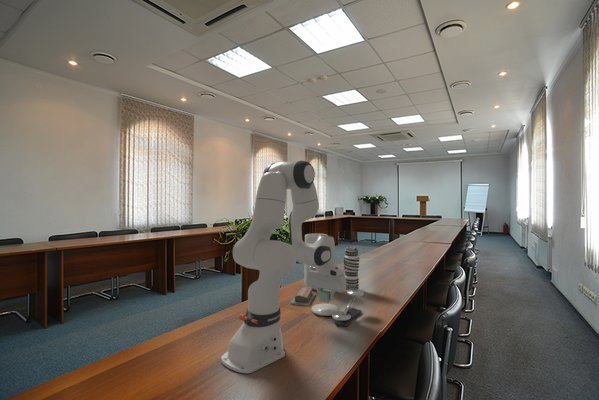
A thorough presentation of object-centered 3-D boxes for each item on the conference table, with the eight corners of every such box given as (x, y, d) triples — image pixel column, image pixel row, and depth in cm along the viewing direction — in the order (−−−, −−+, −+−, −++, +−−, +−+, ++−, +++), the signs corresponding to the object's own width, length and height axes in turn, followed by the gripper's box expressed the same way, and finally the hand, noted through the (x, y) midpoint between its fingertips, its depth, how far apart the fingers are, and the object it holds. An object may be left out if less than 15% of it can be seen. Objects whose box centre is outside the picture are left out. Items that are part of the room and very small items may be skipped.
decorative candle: (360, 292, 164) (361, 249, 164) (344, 292, 165) (344, 248, 164) (357, 287, 174) (358, 246, 173) (342, 287, 174) (342, 246, 174)
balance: (345, 329, 118) (345, 305, 118) (328, 324, 123) (328, 300, 123) (366, 312, 136) (366, 291, 136) (350, 308, 141) (351, 287, 141)
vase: (321, 292, 165) (321, 237, 165) (299, 288, 173) (300, 235, 172) (331, 285, 177) (332, 234, 177) (311, 282, 185) (311, 233, 185)
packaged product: (298, 285, 163) (315, 286, 161) (298, 294, 163) (315, 295, 161) (290, 295, 146) (309, 297, 144) (290, 305, 146) (309, 307, 144)
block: (327, 303, 134) (327, 293, 134) (319, 301, 136) (319, 291, 136) (332, 300, 137) (332, 290, 137) (323, 298, 140) (323, 288, 140)
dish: (330, 319, 127) (330, 316, 127) (306, 312, 135) (306, 309, 135) (344, 310, 138) (344, 307, 138) (320, 304, 146) (320, 301, 146)
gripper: (303, 267, 140) (303, 295, 140) (341, 273, 128) (341, 304, 128) (310, 264, 145) (310, 291, 145) (347, 270, 133) (347, 300, 134)
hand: (325, 297), depth 137 cm, fingers closed on block, 4 cm apart
